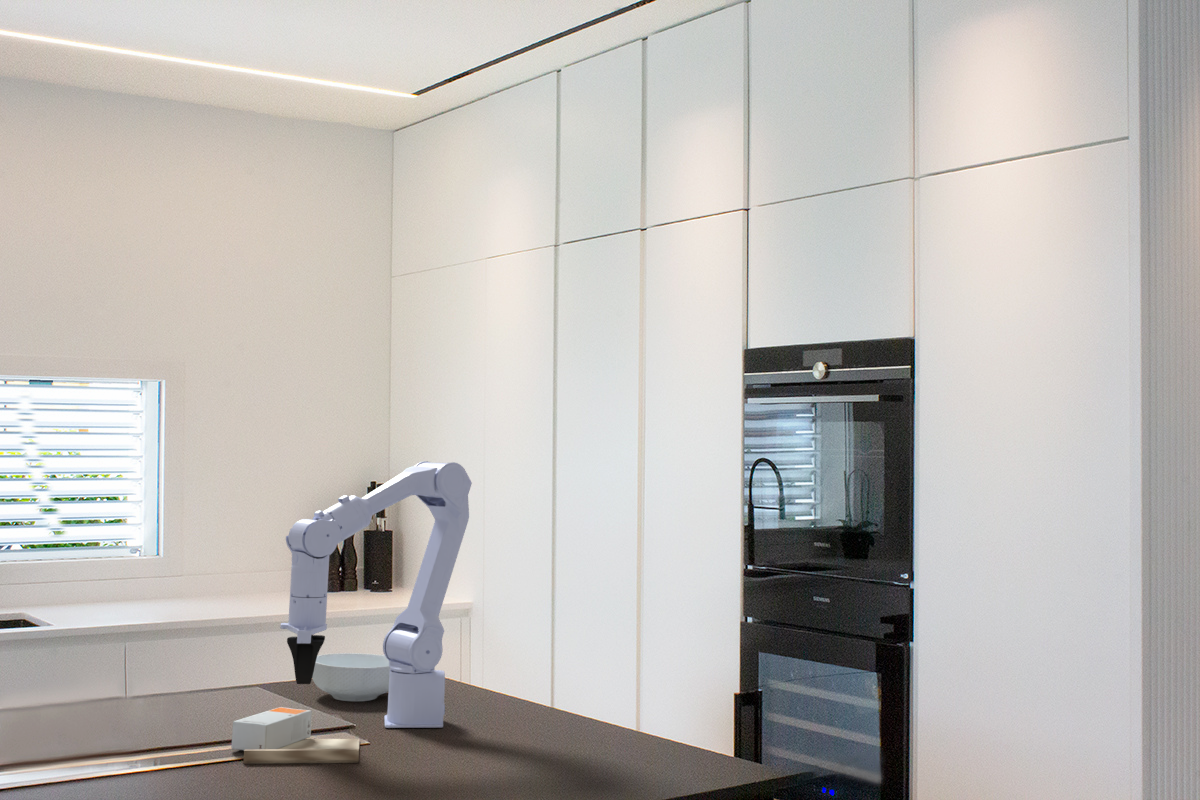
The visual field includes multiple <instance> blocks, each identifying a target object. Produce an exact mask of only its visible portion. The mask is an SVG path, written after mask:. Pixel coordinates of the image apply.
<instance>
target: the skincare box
mask: <svg viewBox="0 0 1200 800" xmlns="http://www.w3.org/2000/svg"><path fill="white" fill-rule="evenodd" d="M312 715H313V711H312V710H309V709H301V708H299V709H297V708H290V707H285V706H279V707H276V708H272V709H269V710H266V711H263V712H259V713H256V714H253V715H249V716H245V717H243V718H240V719H237V720H233V721H232V733H231V747H230V748H231V750H237V751H243V752H244V750H245V749H279V748H281V747H284V746H287V745H290V744H292V743H295V742H298V741H301V740H304V739H310V738H311V734H312Z"/></svg>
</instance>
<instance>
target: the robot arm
mask: <svg viewBox="0 0 1200 800" xmlns="http://www.w3.org/2000/svg"><path fill="white" fill-rule="evenodd" d="M472 484H473V482H472V480H471V479H470V477H469V475H468V473H467V470H466V468H465V467H464V466H463V465H462V464H460V463H458V462H453V461H452V462H434V461H433V462H431V461H428V460H427V461H420V462H418V463H416V464H415V465H412V466H410V467H406V468H405V469H404V470H403V471H402V472H401V473H399V474H397V475H396V476H394V477H393V478H391V479H390V480H387V481H386V482H385V483H383V484H381V485H380V486H378V487H377V488H375V489H373V490H372V491H370V492H369V493H367V494H365V495H364V496H362V497H361V496H357V495H342V496H340V497H339V498H337V501H338V502H337V503H335V504H333V505H331V506H329V507H328V508H326V509H324V510H316V511H315V512H314V513H313V515H314V516H312V518H301V519H300V520H298V521H296V522H294V524H292V526H291V528H290V529H289V533H288V535H286V536H285V543H286V546H287V548H288V550H290V553H291V567H290V568H291V569H290V586H289V589H290V590H289V605H288V606H289V607H288V621H287V622H281V623H280V625H279V627H280V629H281V630H287V631H289V632H291V633H294V634H296V635H297V636H289V637H287V639H286V643H287V646H288V647H289V650H290V653H291V656H292V661H293V668H294V669H293V670H294V675H295V682H296V685H311V683H312V681H313V679H312V677H313V672H314V668H315V663H316V659H317V656H319V653H320V650H321V648H322V646H323V645H324V643H325V640H326V636H325V635H321V634H317V633H321V632H323V631H326V630H327V629H328V624H327V623H326V622H327V609H328V608H327V606H328V605H327V604H328V590H329V589H328V586H329V567H330V556H331V555H332V554H333V553H334V552H335V550H336V549H337V546H338V544H339V543H342V542H344V541H345V540H347V539H348V538H350V537H352V536H354V535H356V534H357V533H359V532H360V531H362V530H364V529H366V528H367V527H369V526H370V525H371V522H372V517H373V515H375V514H377V513H379V512H381V511H383V510H385V509H387V508H389V507H392V506H394V505H395V504H397V503H399V502H401V501H403V500H406V499H407V498H409V497H411V496H416V497H417V498H418V499H419V500H420V501H421V502H422V503H423V504H424V505H425V506H426V507H427V508H428V509H429V511H430V513H431V515H432V517H433V519H434V523H433V526H432V529H431V533H430V536H429V540H428V542H427V545H426V547H425V548H426V549H425V551H424V555H423V557H422V560H421V563H420V567H419V569H418V573H417V577H416V580H415V583H414V586H413V589H412V592H411V595H410V597H409V601H408V605H407V608H405V609H404V610H403V611H402V612H401V613H400V614H399V615H397V616H396V617H395V620H394V623H393V625H392V627H391V628H390V629H389V631H388V632H387V633H386V634H385V636H384V638H383V642H382V651H383V655H385V657H386V658H387V659H388V660H389V667H390V673H389V692H387V693H388V695H387V712H386V714H385V715H384V716H383V717H384V727H385V728H388V729H390V728H392V729H393V728H394V729H395V728H397V729H398V728H399V729H400V728H404V729H405V728H408V729H410V728H412V729H414V728H418V729H420V728H422V729H423V728H430V729H431V728H433V729H434V728H440V729H441V728H444V716H445V713H446V704H445V692H446V689H445V687H446V677H445V676H446V675H445V674H446V673H445V670H442V669H441V670H440V669H436V668H435V667H436V666H437V665H438V664H439V663H440V661H441V659H442V655H443V637H444V634H445V629H444V626H443V624H442V622H441V619H440V617H439V616H440V614H441V610H442V606H443V603H444V601H445V596H446V593H447V590H448V587H449V584H450V581H451V578H452V575H453V572H454V567H455V564H456V563H457V558H458V555H459V552H460V550H461V549H460V548H461V545H462V542H463V539H464V536H465V532H466V530H467V527H468V524H469V519H470V509H469V508H470V507H469V506H470V505H469V493H470V490H471V487H472ZM316 634H317V635H316Z"/></svg>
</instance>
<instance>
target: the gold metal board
mask: <svg viewBox="0 0 1200 800" xmlns="http://www.w3.org/2000/svg"><path fill="white" fill-rule="evenodd" d="M359 759H360V738H306V739H304V740H301V741H298V742H295V743H292V744H290V745H287V746H284V747H281V748H279V749H245V750H244V751H243V761H242V762H243V765H244V764H245V765H246V764H255V765H256V764H258V765H259V764H355V763H359Z"/></svg>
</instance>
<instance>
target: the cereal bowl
mask: <svg viewBox="0 0 1200 800" xmlns="http://www.w3.org/2000/svg"><path fill="white" fill-rule="evenodd" d="M389 673H390V667H389V660H388V659H387V658H386V657H385V655H384V654H377V653H375V654H374V653H364V652H362V653H360V652H359V653H358V652H357V653H356V652H341V653H340V652H336V653H335V652H334V653H324V654H320V655H319V654H318V655H317V659H316V663H315V668H314V672H313V677H312V681H313V683H314V684H315V686H316V687H317V688H318V689H320V690H321V691H323V692H325V693H327V694H329V695H330V696H332V698H333V699H334V700H338V701H343V702H369V701H374V700H376V699H377V698H378V697H379V696H381V695H383V694H386V693H389Z"/></svg>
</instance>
